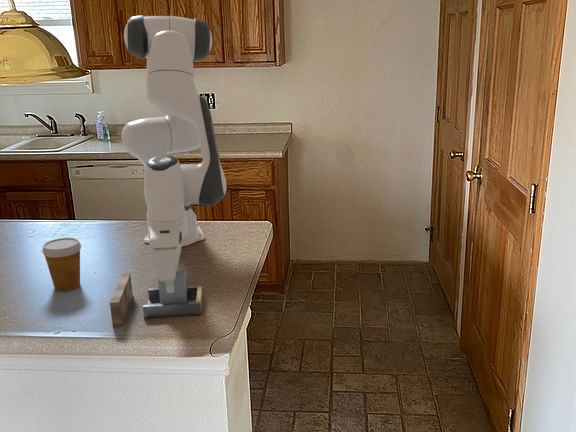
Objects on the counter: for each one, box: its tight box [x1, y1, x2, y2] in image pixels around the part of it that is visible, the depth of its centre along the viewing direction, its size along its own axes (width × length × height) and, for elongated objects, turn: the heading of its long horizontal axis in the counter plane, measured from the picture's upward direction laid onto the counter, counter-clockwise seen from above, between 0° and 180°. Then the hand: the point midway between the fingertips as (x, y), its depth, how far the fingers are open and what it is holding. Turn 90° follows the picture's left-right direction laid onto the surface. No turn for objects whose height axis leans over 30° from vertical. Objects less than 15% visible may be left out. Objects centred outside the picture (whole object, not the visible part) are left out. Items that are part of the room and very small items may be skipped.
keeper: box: [142, 285, 204, 320], centre depth 137 cm, size 10×13×3 cm
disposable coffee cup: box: [41, 237, 82, 292], centre depth 148 cm, size 10×10×12 cm
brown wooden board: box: [109, 273, 134, 328], centre depth 136 cm, size 16×2×6 cm, turn 6°
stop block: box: [157, 269, 187, 304], centre depth 136 cm, size 4×6×8 cm, turn 96°
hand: (172, 283), depth 136 cm, fingers open, 8 cm apart
